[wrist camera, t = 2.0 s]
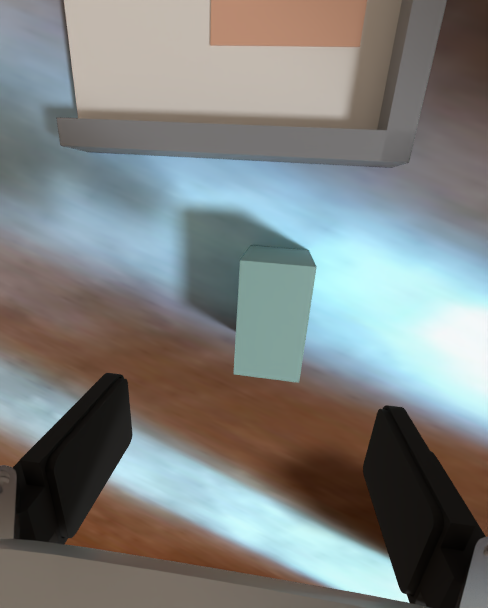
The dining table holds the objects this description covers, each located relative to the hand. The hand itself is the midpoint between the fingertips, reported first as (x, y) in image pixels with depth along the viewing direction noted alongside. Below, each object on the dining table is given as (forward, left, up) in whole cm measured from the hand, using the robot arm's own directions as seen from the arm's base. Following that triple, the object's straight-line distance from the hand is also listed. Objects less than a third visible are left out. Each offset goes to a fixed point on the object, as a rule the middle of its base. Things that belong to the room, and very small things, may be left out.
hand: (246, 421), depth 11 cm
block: (-1, 0, -14) cm, 14 cm away
